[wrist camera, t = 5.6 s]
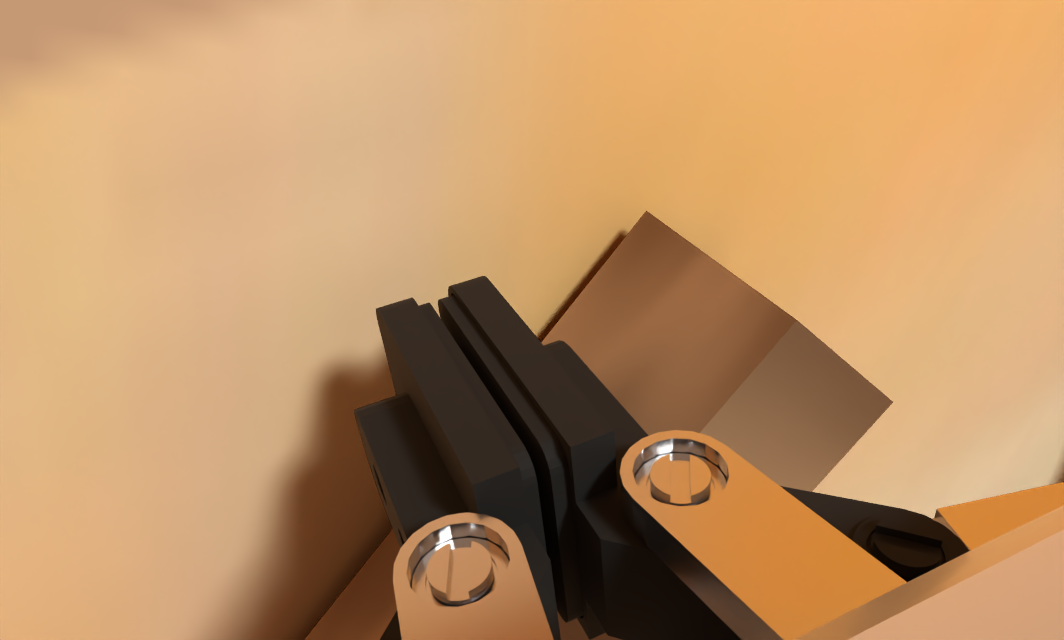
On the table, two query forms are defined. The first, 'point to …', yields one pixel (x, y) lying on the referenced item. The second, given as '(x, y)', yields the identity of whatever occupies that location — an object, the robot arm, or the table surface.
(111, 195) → the table surface
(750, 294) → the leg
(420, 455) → the robot arm
